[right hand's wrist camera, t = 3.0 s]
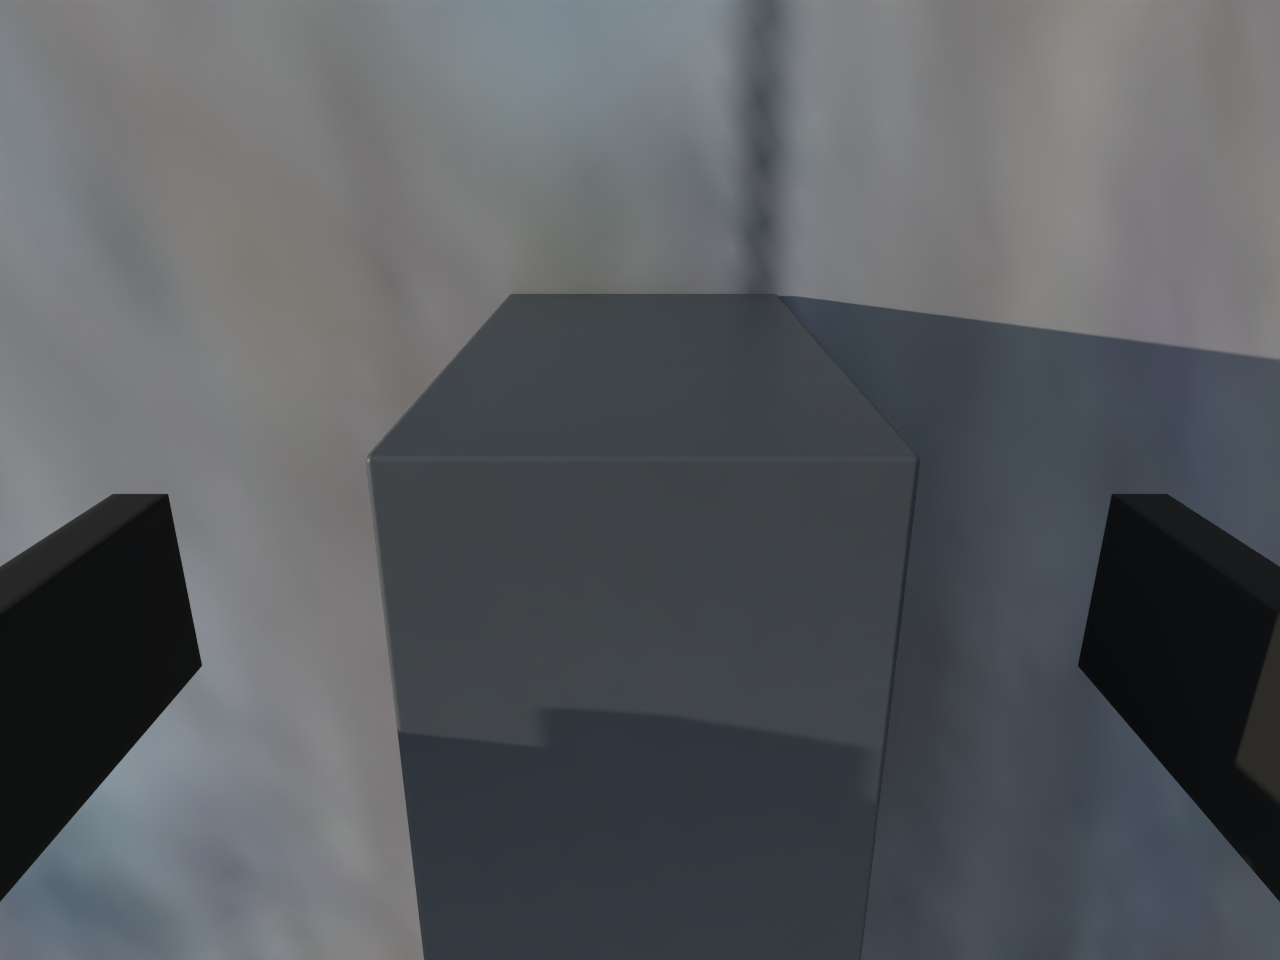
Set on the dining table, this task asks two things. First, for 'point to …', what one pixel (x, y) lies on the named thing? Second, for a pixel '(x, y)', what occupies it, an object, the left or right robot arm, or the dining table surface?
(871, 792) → the bar
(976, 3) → the dining table surface
